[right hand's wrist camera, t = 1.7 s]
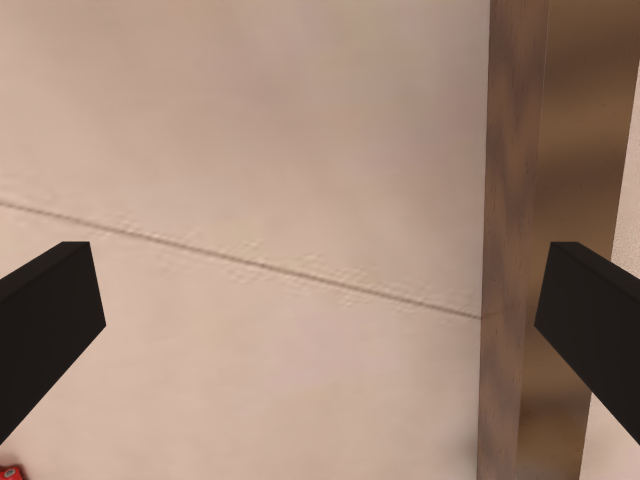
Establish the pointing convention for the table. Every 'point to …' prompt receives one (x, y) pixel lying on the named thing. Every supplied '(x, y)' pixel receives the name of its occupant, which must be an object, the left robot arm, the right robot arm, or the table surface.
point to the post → (546, 212)
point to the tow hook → (11, 474)
